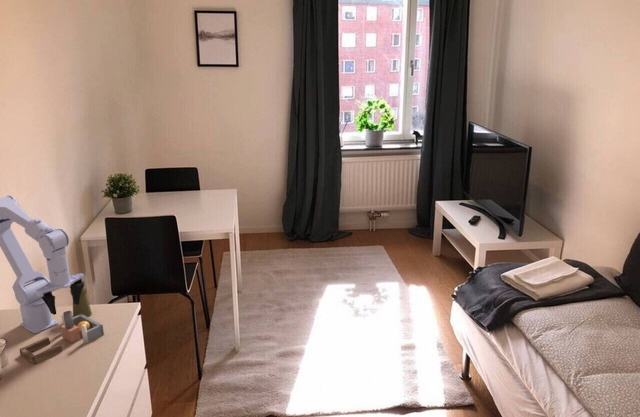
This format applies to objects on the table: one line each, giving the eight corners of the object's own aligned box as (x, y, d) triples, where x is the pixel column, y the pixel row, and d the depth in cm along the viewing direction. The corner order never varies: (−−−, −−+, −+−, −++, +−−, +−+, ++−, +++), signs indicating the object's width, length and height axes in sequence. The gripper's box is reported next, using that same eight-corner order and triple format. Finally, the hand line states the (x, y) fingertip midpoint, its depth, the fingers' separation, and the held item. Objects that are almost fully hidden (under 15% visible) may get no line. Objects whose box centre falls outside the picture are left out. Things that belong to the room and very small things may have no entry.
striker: (62, 337, 173) (58, 312, 170) (71, 333, 175) (67, 308, 172) (71, 342, 170) (67, 317, 167) (80, 338, 172) (76, 313, 170)
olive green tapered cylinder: (85, 320, 184) (80, 290, 180) (69, 318, 185) (64, 289, 181) (95, 311, 189) (91, 282, 186) (79, 309, 190) (75, 281, 187)
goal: (63, 331, 177) (60, 315, 175) (82, 322, 182) (79, 306, 180) (85, 344, 170) (82, 327, 168) (104, 334, 175) (102, 318, 173)
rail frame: (20, 355, 164) (19, 349, 164) (47, 342, 171) (46, 336, 170) (34, 364, 160) (33, 358, 159) (62, 351, 166) (61, 345, 166)
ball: (87, 319, 178) (83, 331, 178) (76, 318, 175) (72, 331, 175) (94, 323, 176) (90, 335, 176) (84, 322, 173) (79, 335, 173)
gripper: (42, 280, 159) (49, 322, 163) (87, 264, 170) (93, 303, 174) (29, 274, 163) (37, 315, 167) (75, 258, 174) (80, 296, 178)
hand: (65, 308), depth 171 cm, fingers open, 7 cm apart
